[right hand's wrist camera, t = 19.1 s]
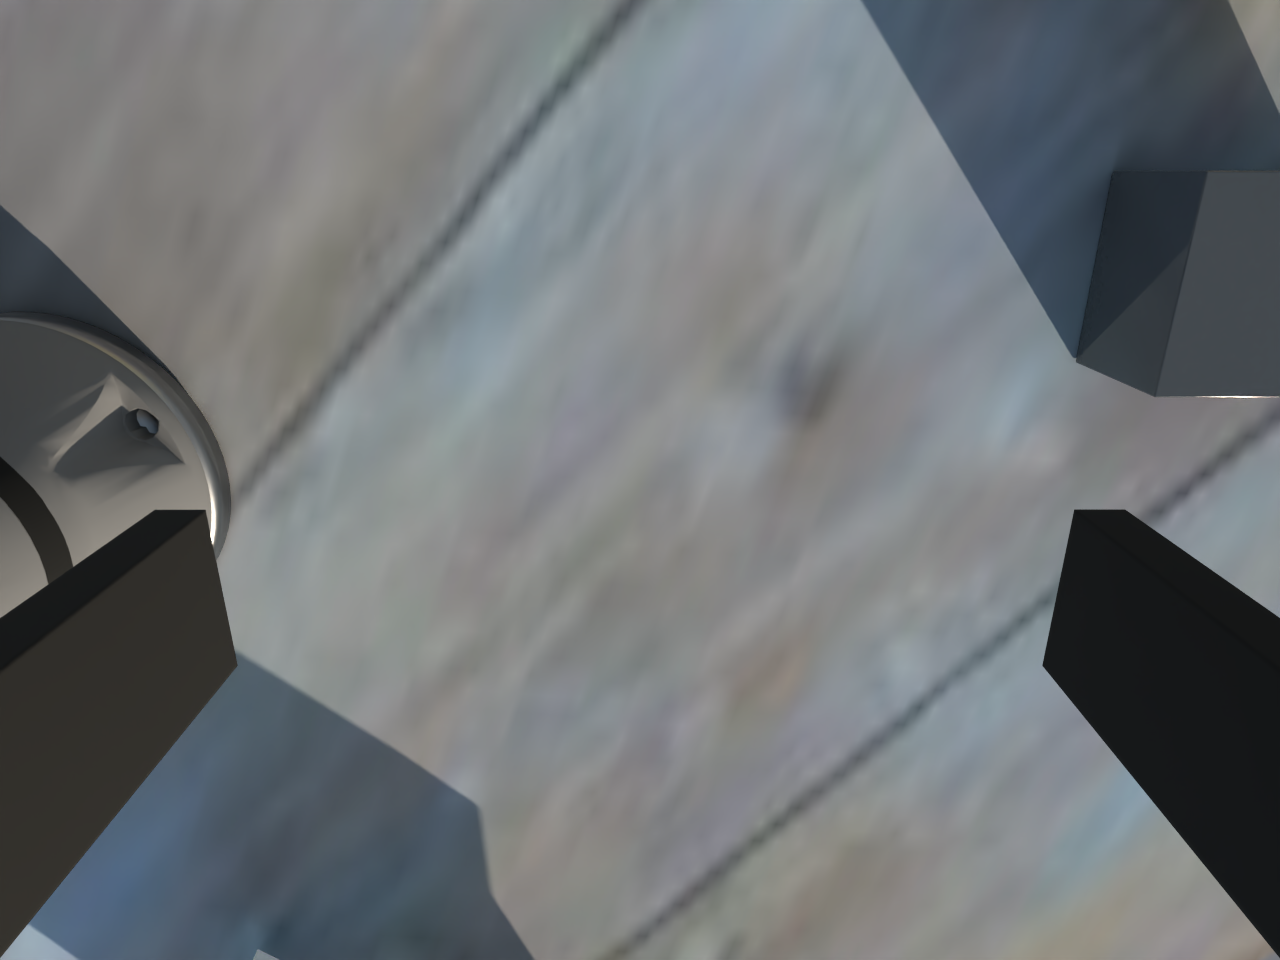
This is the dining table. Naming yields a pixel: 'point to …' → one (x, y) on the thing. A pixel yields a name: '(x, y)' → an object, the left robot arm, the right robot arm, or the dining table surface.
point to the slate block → (1188, 284)
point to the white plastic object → (263, 956)
